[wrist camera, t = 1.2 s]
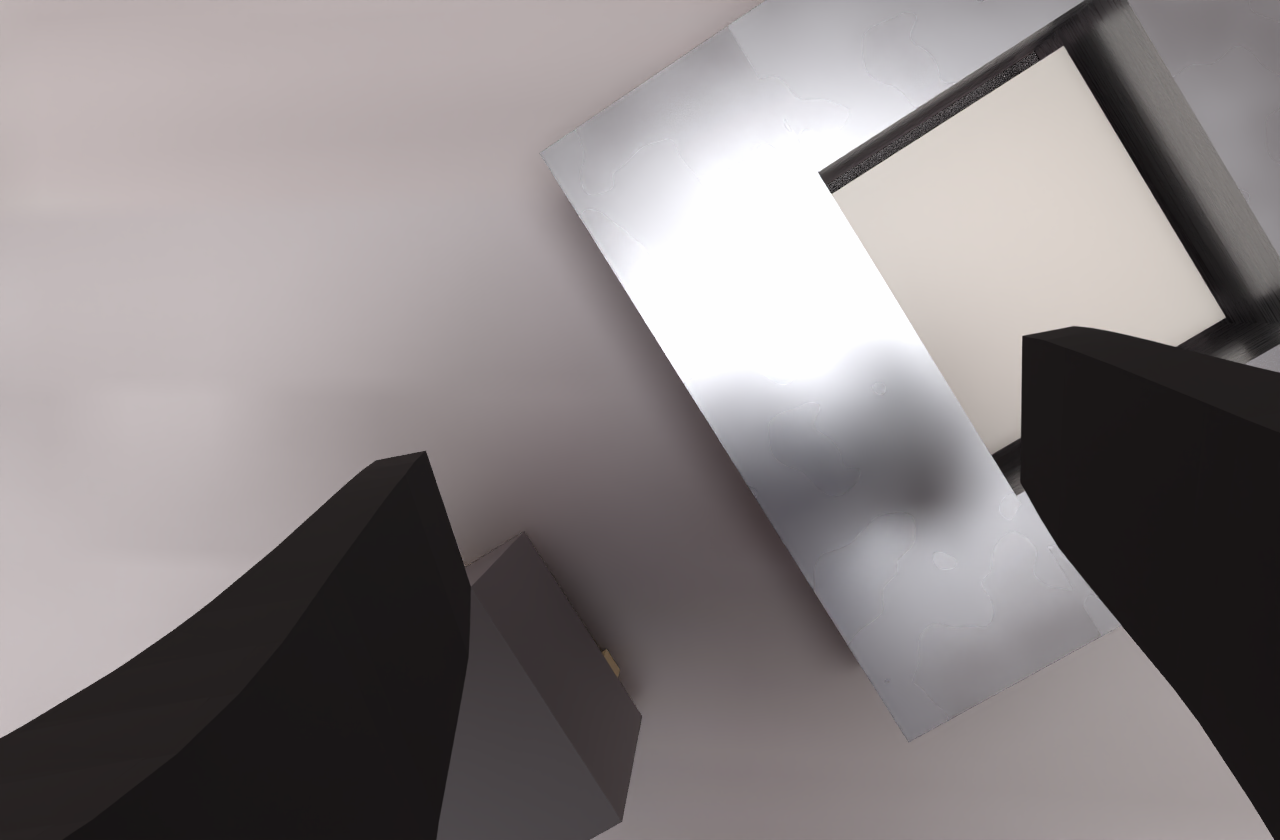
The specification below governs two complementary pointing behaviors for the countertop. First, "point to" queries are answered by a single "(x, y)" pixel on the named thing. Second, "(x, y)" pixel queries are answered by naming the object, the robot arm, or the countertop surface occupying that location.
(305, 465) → the countertop surface
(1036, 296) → the block
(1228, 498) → the robot arm
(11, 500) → the countertop surface
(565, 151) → the socket plate
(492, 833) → the plug
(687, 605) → the countertop surface
